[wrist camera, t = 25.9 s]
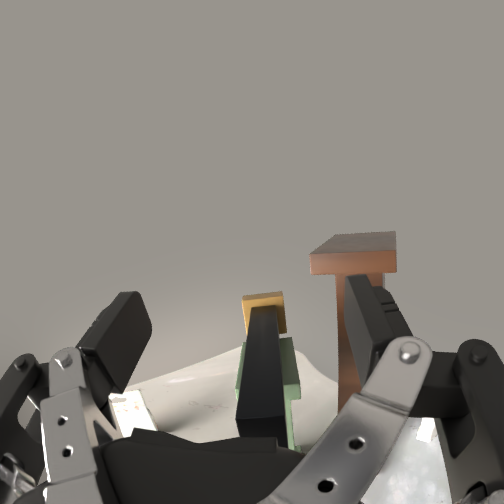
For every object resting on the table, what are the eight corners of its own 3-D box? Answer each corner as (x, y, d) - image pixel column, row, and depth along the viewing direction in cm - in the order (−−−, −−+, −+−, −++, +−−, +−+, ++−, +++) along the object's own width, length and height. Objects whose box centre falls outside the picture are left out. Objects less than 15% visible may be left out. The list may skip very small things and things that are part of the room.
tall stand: (376, 480, 28) (401, 249, 23) (315, 473, 32) (303, 254, 27) (387, 426, 38) (399, 230, 33) (337, 422, 42) (331, 234, 37)
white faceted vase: (425, 421, 36) (440, 346, 34) (443, 431, 32) (464, 355, 30) (407, 435, 35) (422, 359, 32) (426, 447, 30) (447, 370, 28)
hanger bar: (304, 453, 16) (300, 400, 15) (230, 458, 16) (215, 407, 15) (286, 326, 38) (282, 290, 37) (248, 331, 38) (242, 295, 37)
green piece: (305, 496, 28) (300, 383, 25) (260, 500, 28) (234, 389, 25) (300, 449, 38) (291, 336, 34) (262, 452, 38) (242, 342, 35)
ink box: (113, 436, 42) (90, 389, 40) (158, 428, 45) (139, 380, 44) (113, 446, 39) (88, 398, 38) (160, 438, 43) (140, 389, 41)
